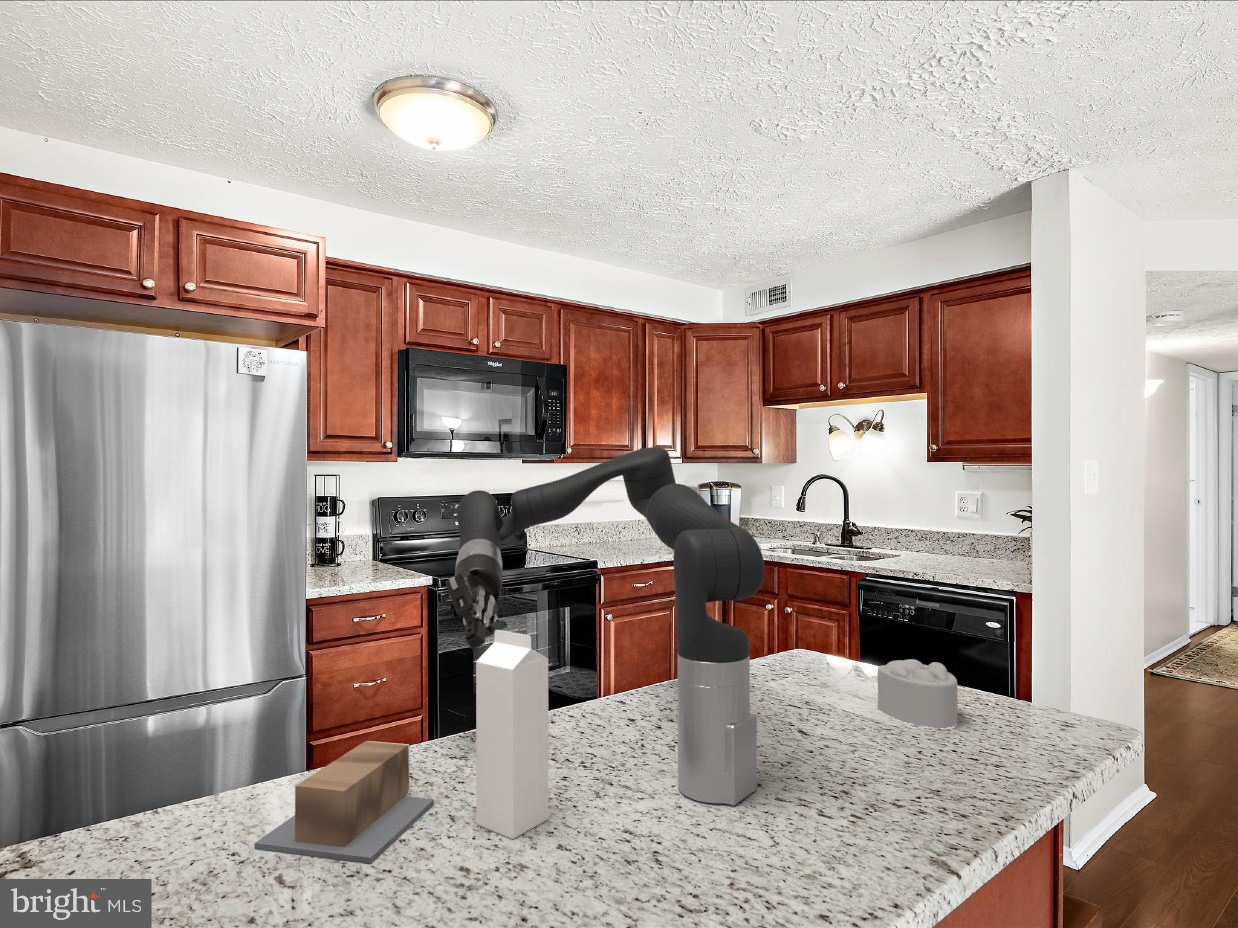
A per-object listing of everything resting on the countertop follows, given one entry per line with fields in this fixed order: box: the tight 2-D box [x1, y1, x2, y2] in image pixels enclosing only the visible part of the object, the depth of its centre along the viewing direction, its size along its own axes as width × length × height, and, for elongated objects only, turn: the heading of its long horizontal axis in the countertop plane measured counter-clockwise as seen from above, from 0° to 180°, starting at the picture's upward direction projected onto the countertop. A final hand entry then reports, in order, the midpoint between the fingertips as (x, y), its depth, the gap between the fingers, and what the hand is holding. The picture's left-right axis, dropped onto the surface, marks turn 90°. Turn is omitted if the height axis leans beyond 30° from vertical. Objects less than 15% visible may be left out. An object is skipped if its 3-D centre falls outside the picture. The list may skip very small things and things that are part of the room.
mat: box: [253, 795, 435, 864], centre depth 84 cm, size 14×14×1 cm
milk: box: [475, 630, 549, 840], centre depth 85 cm, size 6×6×22 cm
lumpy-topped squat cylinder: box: [877, 658, 959, 728], centre depth 121 cm, size 10×13×9 cm
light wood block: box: [294, 740, 410, 847], centre depth 86 cm, size 6×6×14 cm
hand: (474, 643), depth 103 cm, fingers closed
